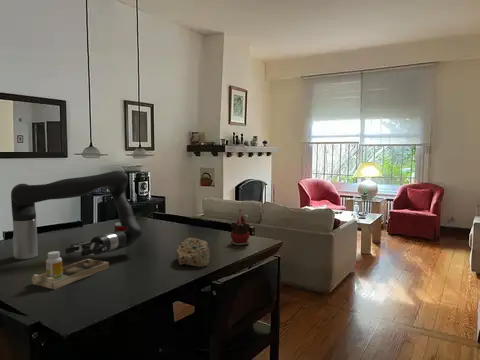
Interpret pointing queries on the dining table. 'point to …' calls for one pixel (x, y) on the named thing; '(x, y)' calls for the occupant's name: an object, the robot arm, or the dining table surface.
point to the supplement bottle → (54, 265)
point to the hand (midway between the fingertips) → (73, 252)
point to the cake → (240, 231)
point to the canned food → (120, 228)
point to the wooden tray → (71, 273)
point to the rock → (193, 252)
